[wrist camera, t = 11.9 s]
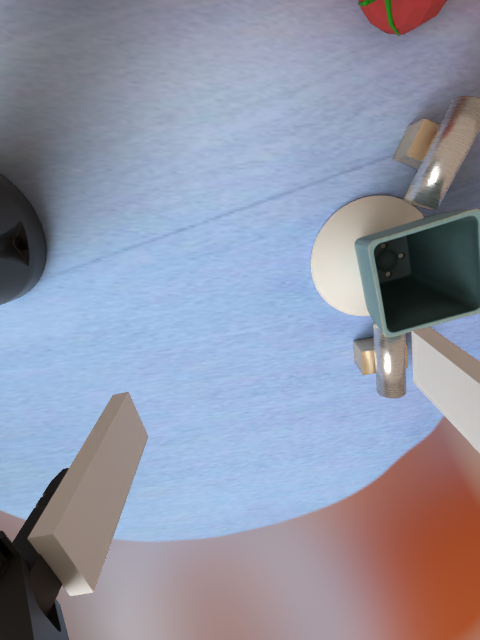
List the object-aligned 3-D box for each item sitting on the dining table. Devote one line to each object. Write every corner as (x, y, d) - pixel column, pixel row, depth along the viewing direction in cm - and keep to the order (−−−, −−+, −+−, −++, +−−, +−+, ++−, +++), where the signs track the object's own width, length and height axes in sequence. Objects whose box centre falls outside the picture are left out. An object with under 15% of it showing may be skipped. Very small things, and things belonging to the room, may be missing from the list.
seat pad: (286, 252, 35) (287, 253, 34) (390, 166, 31) (392, 166, 31) (353, 335, 38) (354, 337, 38) (453, 265, 35) (455, 266, 34)
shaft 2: (419, 212, 33) (454, 214, 27) (375, 195, 32) (402, 194, 27) (463, 128, 30) (512, 111, 24) (416, 108, 30) (455, 87, 24)
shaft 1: (351, 314, 37) (369, 334, 31) (394, 306, 37) (421, 325, 31) (355, 372, 40) (373, 401, 34) (396, 366, 39) (421, 394, 34)
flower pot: (422, 204, 32) (484, 206, 24) (431, 284, 35) (489, 311, 27) (336, 231, 33) (367, 242, 25) (352, 307, 36) (384, 339, 28)
